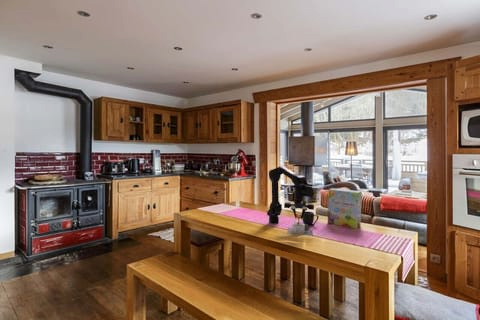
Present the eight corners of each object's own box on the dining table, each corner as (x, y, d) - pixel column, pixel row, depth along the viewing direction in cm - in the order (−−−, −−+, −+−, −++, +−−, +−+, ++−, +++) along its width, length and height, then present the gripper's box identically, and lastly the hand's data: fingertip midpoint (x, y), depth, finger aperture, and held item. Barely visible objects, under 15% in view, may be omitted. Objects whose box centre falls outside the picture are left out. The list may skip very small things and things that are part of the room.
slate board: (286, 234, 171) (287, 233, 171) (287, 229, 184) (287, 227, 184) (313, 236, 167) (313, 235, 167) (312, 230, 180) (312, 229, 180)
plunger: (294, 227, 174) (294, 214, 173) (294, 225, 179) (294, 213, 178) (302, 228, 172) (302, 215, 172) (302, 225, 178) (302, 213, 177)
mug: (314, 229, 184) (314, 215, 184) (299, 225, 193) (299, 212, 193) (320, 227, 190) (321, 213, 190) (305, 223, 199) (306, 210, 198)
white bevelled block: (292, 232, 173) (292, 224, 173) (292, 229, 180) (292, 221, 180) (308, 233, 171) (308, 225, 170) (307, 230, 178) (307, 222, 178)
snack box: (326, 223, 199) (327, 189, 199) (331, 221, 206) (332, 188, 205) (357, 229, 186) (358, 192, 185) (361, 226, 192) (362, 190, 192)
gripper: (283, 196, 169) (283, 221, 170) (314, 197, 165) (314, 223, 165) (284, 193, 180) (284, 216, 181) (313, 195, 176) (313, 218, 176)
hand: (298, 219), depth 175 cm, fingers closed on plunger, 3 cm apart
